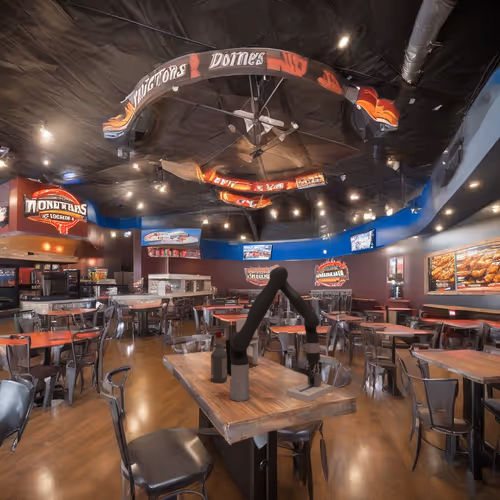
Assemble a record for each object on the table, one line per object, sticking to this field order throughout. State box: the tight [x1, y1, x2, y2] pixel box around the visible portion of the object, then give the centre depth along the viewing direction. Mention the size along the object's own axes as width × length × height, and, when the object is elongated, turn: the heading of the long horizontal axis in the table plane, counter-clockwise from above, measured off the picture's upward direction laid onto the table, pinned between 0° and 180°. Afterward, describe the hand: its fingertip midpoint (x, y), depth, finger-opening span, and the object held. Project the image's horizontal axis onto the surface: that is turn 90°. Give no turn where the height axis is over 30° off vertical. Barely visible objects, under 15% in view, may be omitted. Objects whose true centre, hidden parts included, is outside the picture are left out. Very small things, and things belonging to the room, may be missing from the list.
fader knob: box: [307, 372, 322, 387], centre depth 169 cm, size 4×6×6 cm, turn 45°
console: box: [285, 381, 333, 403], centre depth 164 cm, size 22×14×3 cm, turn 135°
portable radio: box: [225, 336, 231, 376], centre depth 210 cm, size 8×6×25 cm
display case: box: [235, 317, 259, 369], centre depth 229 cm, size 11×11×35 cm
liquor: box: [210, 331, 228, 384], centre depth 194 cm, size 9×9×30 cm
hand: (314, 383), depth 168 cm, fingers closed on fader knob, 4 cm apart
